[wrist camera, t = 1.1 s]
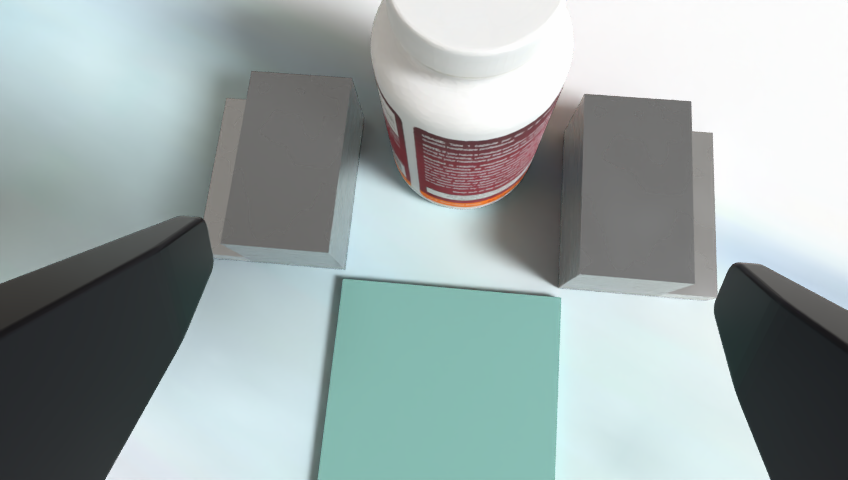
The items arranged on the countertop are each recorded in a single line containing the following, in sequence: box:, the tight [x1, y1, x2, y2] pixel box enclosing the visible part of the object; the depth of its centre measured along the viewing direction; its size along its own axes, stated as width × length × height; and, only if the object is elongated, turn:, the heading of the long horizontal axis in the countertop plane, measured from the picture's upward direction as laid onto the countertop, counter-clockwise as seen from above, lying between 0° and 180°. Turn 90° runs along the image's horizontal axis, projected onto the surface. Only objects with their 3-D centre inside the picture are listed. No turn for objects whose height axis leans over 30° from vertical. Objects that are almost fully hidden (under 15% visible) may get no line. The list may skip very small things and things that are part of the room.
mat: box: [318, 279, 561, 480], centre depth 21 cm, size 9×9×1 cm
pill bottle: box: [371, 0, 573, 209], centre depth 19 cm, size 6×6×11 cm
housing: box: [203, 71, 717, 301], centre depth 22 cm, size 7×21×4 cm, turn 85°
